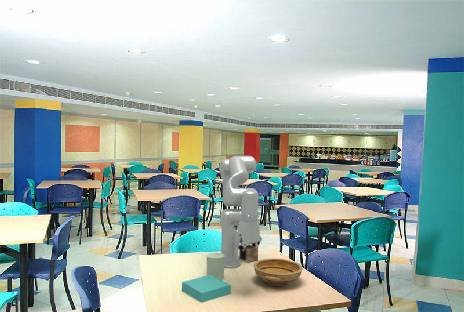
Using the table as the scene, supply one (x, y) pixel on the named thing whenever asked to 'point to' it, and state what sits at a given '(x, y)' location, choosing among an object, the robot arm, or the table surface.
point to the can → (215, 265)
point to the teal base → (206, 288)
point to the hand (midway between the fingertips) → (248, 257)
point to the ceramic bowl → (277, 271)
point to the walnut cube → (250, 254)
